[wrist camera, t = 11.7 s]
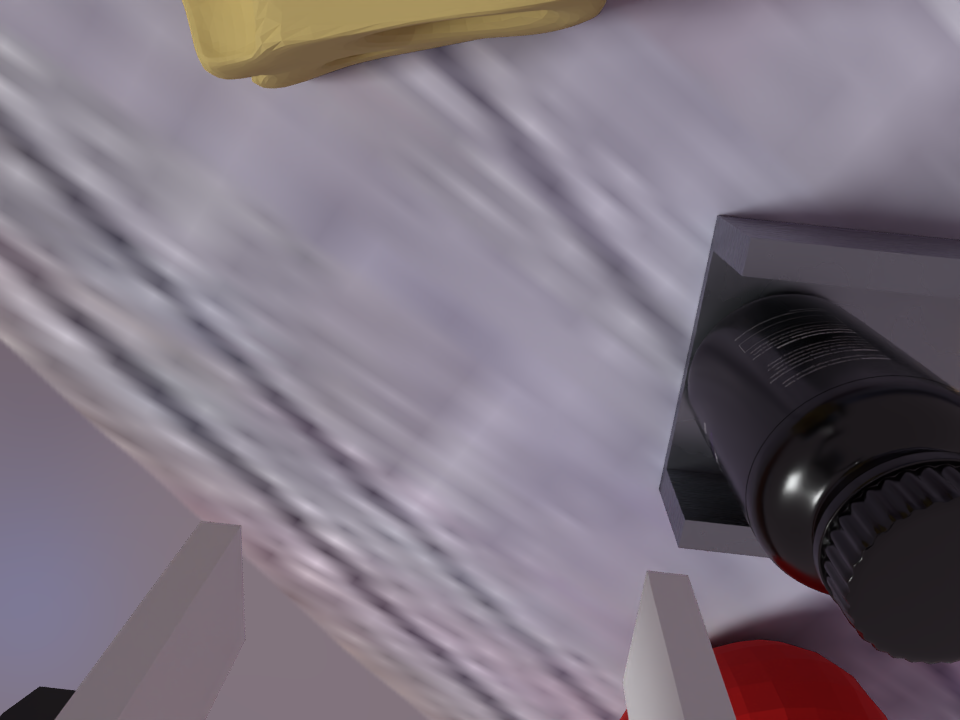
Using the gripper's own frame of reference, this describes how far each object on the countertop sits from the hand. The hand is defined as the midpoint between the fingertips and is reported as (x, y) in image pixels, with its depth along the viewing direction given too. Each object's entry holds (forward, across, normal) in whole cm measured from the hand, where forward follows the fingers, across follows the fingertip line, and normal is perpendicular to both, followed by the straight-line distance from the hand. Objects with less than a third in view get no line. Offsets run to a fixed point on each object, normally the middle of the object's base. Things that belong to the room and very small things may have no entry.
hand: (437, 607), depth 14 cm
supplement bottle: (+15, +11, 0) cm, 19 cm away
